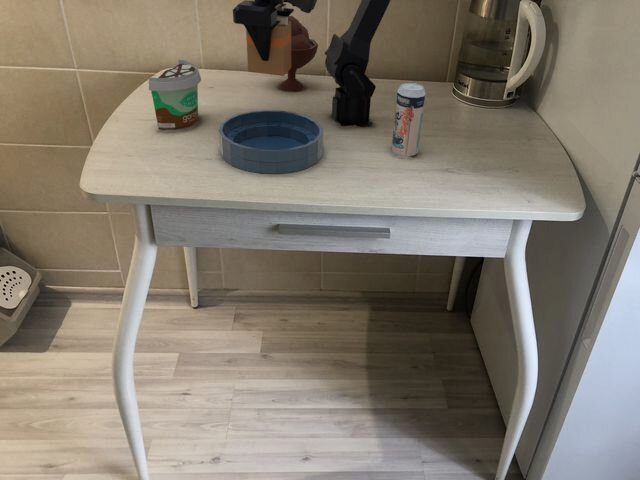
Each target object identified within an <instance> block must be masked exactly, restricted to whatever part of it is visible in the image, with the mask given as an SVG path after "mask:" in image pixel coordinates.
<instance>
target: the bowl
mask: <svg viewBox="0 0 640 480" xmlns="http://www.w3.org/2000/svg"><path fill="white" fill-rule="evenodd" d="M323 130H324V129H323V127H322V126H321V124H320V123H319V122H318V121H317V120H316V119H313V118H311V117H309V116H306V115H304V114H300V113H297V112H292V111H287V110H274V109H263V110H250V111H246V112H241V113H237V114H235V115H232V116H230V117H228V118H226V119H225V120H224V121H223V122H221V123H220V125H219V128H218V141H219V142H218V143H219V153H220V155H221V157H222V160H223V161H225V162H226V163H227V164H229V165H230V166H232V167H234V168H237V169H240V170H242V171H244V172H251V173H257V174H266V175H271V174H272V175H275V174H276V175H277V174H278V175H281V174H288V173H289V174H290V173H296V172H299V171H303V170H306V169H309V168H311V167H313V166H314V165H316V164H317V163H319V161H320V159H322V157H323V145H324V144H323V141H324V140H323V139H324V133H323V132H324V131H323Z"/></svg>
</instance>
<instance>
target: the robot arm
mask: <svg viewBox="0 0 640 480" xmlns="http://www.w3.org/2000/svg"><path fill="white" fill-rule="evenodd" d="M317 1H318V0H242V1H241V2H239V3H238V4H237V5H236V6H235V7H233V9H232V20H233V23H234V24H236V25H237V24H238V25H243V27H244V28H245V29H246V30H247V32H248V33H249V35H250V37H251V39H252V41H253V43H254V45H255V47H256V49H257V51H258V53H259V55H260V57H261V59H262V61H268V60H269V54H270V46H271V38H272V31H273V29H274V28H275V27H276V26H277V25H278V24H279V23H280V21H276V20H277V16H286V17H288V16H291V14H293V12H294V11H295V9H294V8H289V7H287V3H288V4H289V5H291V6H292V7H296V8H298V9H299V10H300V11H301V12H303V13H305V14H310V13H311V12H312V11H313V10H315V7H316V4H317ZM391 1H392V0H361V1H360V4H359V5H358V8H357V9H356V12H355V14H354V15H353V18H352V20H351V22H350V25H349V27H348V28H347V30H346V31H345V32H343V34H342V35H340V36H339V35H338V34H337V33H333V35H332V36H331V41H330V44H329V46H328V48H327V49H326V50H325V51H324V55H325V56H326V57H325V60H324V65H325V68H326V71H327V73H328V74H329V75H330V76H331V77H332V78H333V80H334V82H335V83H336V85H338V86H339V87H335V88H334V89H335V92H334V95H333V96H332V100H331V101H332V103H331V113H330V115H331V117H332V118H333V119H334V121H335V122H336V123H338V124H339V125H340V126H341V127H353V126H356V127H366V126H372V125H373V121H372V120H371V119H370V114H371V102H372V101H371V100H372V97H373V95H374V93H375V90H376V87H377V86H376V85H375V83H374V82H373V81H372V80H371V79H370V77H368V76H367V74H366V71H367V68H368V64H369V61H370V54H371V45H372V41H373V38H374V37H375V34H376V32H377V31H378V28H379V26H380V24H381V22H382V19H383V18H384V15H385V13H386V11H387V9H388V8H389V5H390V3H391ZM246 30H245V31H246Z"/></svg>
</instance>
